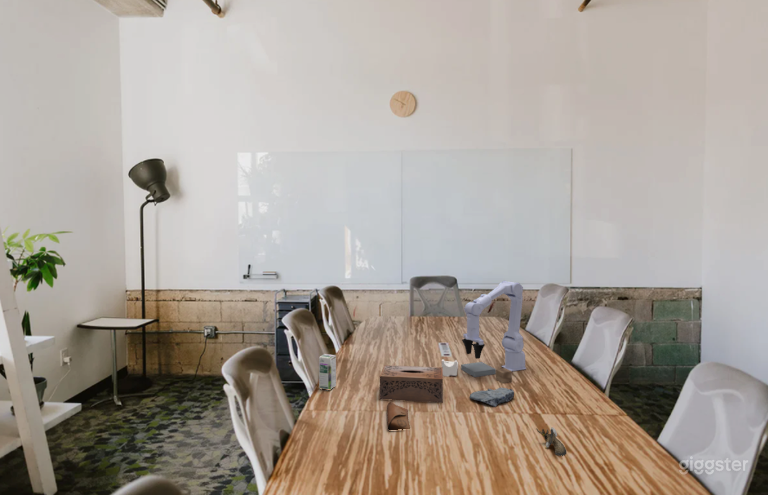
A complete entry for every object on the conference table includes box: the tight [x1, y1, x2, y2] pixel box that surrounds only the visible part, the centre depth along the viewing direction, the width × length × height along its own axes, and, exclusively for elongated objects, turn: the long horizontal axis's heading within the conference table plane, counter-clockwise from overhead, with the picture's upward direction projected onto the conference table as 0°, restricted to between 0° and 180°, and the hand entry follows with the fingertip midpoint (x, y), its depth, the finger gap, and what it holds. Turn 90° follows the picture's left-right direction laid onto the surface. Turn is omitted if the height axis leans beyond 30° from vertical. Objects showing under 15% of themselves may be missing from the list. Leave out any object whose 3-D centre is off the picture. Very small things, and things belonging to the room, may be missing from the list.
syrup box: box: [318, 353, 337, 390], centre depth 183 cm, size 6×6×14 cm
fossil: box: [469, 387, 515, 408], centre depth 170 cm, size 13×18×4 cm
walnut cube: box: [495, 367, 513, 384], centre depth 191 cm, size 5×5×5 cm
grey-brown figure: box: [535, 426, 567, 457], centre depth 131 cm, size 8×7×9 cm
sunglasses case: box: [386, 401, 411, 431], centre depth 152 cm, size 18×7×7 cm
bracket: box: [441, 358, 459, 377], centre depth 203 cm, size 13×7×8 cm, turn 167°
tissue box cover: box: [379, 364, 444, 404], centre depth 176 cm, size 26×14×10 cm, turn 82°
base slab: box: [460, 361, 496, 378], centre depth 204 cm, size 12×12×2 cm
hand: (473, 356), depth 197 cm, fingers open, 7 cm apart
